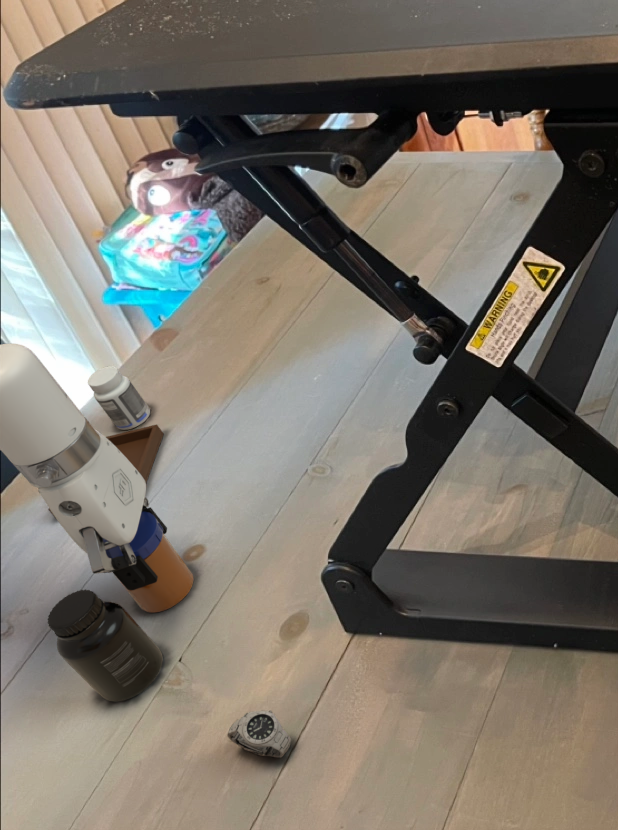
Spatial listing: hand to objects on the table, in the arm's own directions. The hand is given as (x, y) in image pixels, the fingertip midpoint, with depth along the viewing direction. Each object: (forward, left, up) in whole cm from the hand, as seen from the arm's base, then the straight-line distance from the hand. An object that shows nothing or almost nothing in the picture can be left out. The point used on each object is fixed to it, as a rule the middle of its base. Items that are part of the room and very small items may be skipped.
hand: (148, 558), depth 119 cm
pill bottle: (-14, +34, -6) cm, 37 cm away
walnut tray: (-14, +23, -6) cm, 28 cm away
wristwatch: (+15, -24, -6) cm, 29 cm away
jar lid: (0, 0, +4) cm, 4 cm away
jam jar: (-1, 0, -6) cm, 6 cm away
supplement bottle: (-2, -11, -6) cm, 12 cm away
